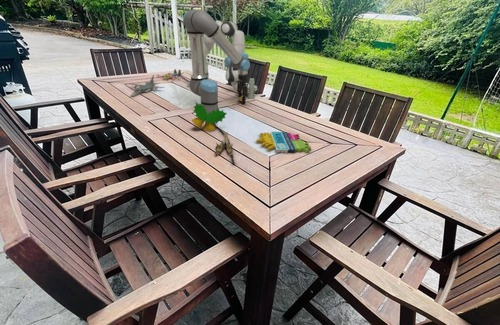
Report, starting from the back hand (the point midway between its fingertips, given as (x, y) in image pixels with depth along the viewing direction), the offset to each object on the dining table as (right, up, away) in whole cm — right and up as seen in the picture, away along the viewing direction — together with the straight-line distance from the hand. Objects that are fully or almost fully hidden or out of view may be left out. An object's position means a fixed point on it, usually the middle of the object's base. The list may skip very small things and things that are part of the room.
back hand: (251, 91), depth 228 cm
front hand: (-9, -13, -11) cm, 19 cm away
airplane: (-94, 0, +2) cm, 94 cm away
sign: (+17, -51, -76) cm, 93 cm away
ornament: (-27, -41, -64) cm, 81 cm away
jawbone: (-15, -57, -90) cm, 107 cm away
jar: (-1, -5, +4) cm, 7 cm away
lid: (-8, -9, -13) cm, 18 cm away
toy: (-87, +29, +54) cm, 106 cm away
